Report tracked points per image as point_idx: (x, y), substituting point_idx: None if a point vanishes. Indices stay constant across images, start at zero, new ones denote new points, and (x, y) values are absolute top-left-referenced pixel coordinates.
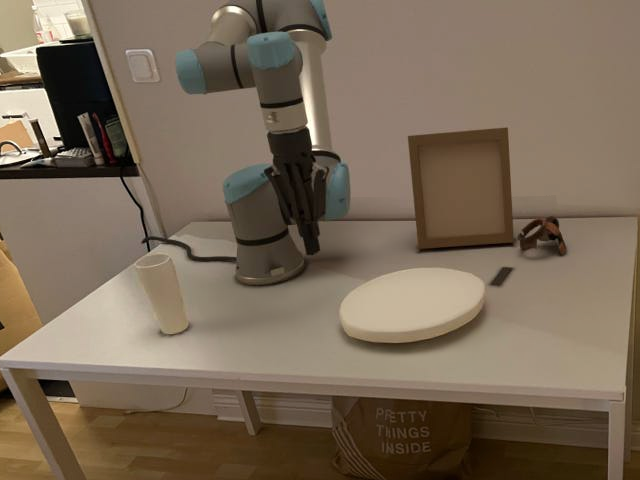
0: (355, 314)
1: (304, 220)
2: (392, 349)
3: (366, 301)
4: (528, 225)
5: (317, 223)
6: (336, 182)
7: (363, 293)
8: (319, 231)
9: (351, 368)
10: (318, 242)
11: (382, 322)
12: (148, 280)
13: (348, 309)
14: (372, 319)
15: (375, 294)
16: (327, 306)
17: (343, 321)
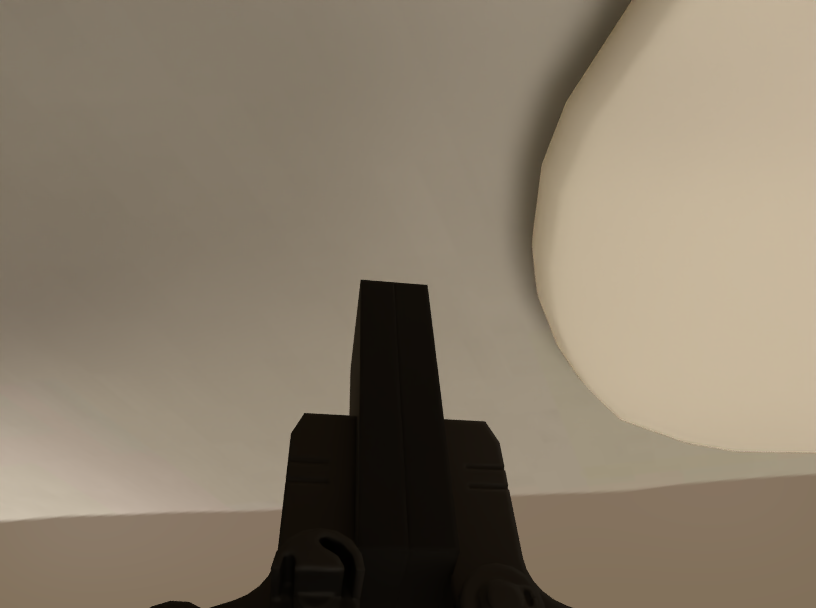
0: (655, 393)
1: (364, 598)
2: None
3: (706, 333)
4: None
5: (517, 547)
6: None
7: (679, 257)
8: (501, 458)
9: (629, 464)
10: (432, 337)
11: (779, 436)
12: None
13: (612, 357)
14: (737, 424)
15: (756, 290)
16: (386, 106)
17: (595, 395)
